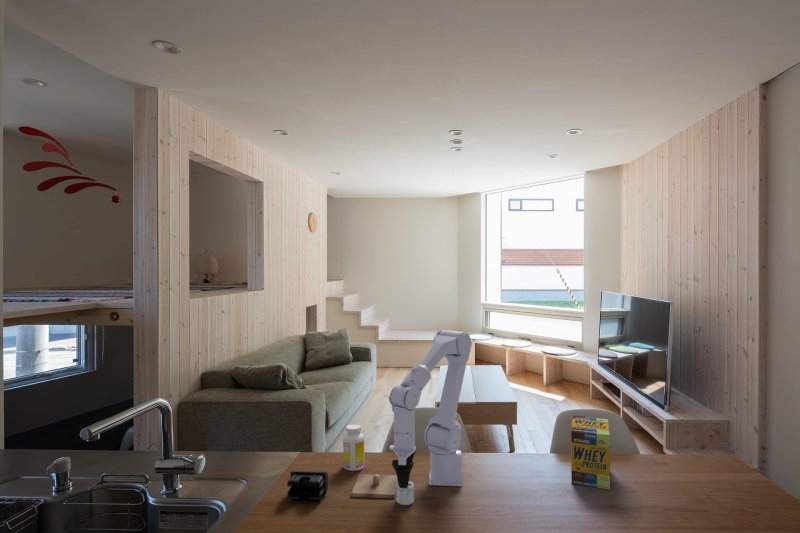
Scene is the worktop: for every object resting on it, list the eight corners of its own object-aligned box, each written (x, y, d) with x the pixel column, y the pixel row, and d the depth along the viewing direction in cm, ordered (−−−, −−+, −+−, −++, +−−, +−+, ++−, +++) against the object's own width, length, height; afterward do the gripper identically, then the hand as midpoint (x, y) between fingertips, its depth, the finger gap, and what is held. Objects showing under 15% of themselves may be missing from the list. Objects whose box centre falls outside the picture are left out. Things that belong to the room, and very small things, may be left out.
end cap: (328, 491, 134) (328, 467, 134) (322, 504, 127) (321, 479, 127) (294, 490, 135) (293, 467, 135) (285, 503, 128) (285, 478, 128)
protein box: (571, 484, 137) (570, 430, 137) (573, 463, 151) (572, 414, 151) (610, 490, 133) (610, 435, 133) (609, 468, 148) (608, 418, 148)
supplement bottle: (366, 463, 153) (365, 423, 153) (362, 472, 147) (362, 430, 147) (345, 462, 154) (345, 423, 154) (341, 471, 147) (340, 430, 147)
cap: (414, 496, 131) (414, 479, 131) (413, 505, 126) (412, 487, 126) (397, 496, 131) (397, 479, 131) (395, 504, 127) (395, 486, 127)
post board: (399, 478, 142) (398, 467, 142) (394, 498, 130) (394, 485, 130) (359, 477, 143) (359, 466, 143) (351, 496, 131) (351, 484, 131)
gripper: (392, 421, 136) (393, 469, 136) (386, 439, 122) (386, 493, 122) (417, 422, 136) (417, 469, 136) (413, 440, 121) (414, 494, 121)
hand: (404, 480), depth 129 cm, fingers open, 7 cm apart
